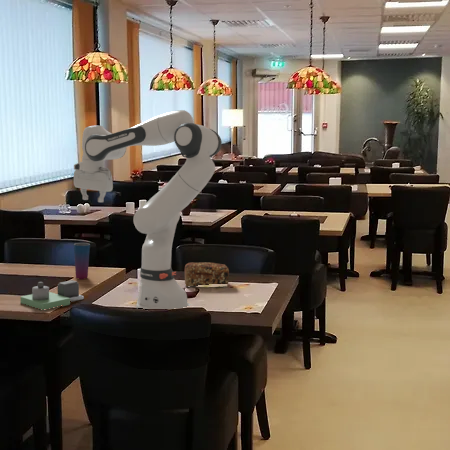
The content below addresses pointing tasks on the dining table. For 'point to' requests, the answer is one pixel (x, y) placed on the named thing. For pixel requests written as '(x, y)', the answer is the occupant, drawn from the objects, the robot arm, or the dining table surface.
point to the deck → (46, 303)
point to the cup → (81, 259)
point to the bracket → (76, 298)
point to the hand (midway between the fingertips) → (93, 200)
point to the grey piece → (68, 288)
